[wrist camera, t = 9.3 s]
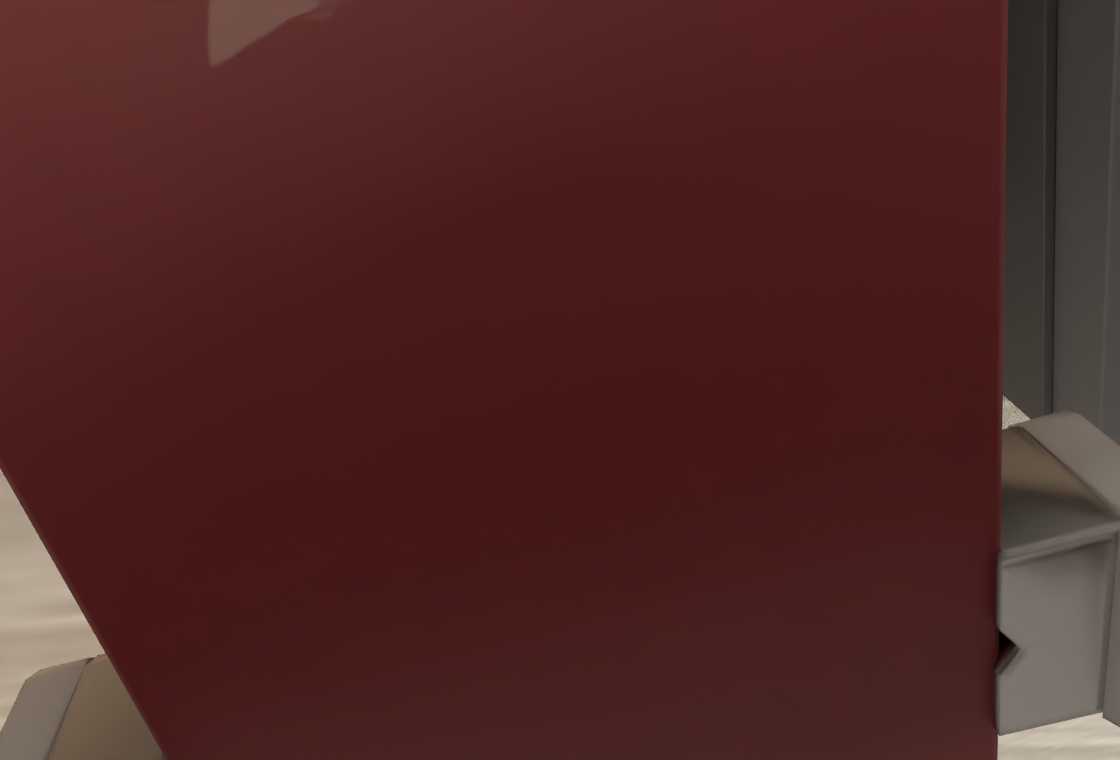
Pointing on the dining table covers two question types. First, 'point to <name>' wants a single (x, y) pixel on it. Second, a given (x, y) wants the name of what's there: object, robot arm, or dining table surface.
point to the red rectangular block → (515, 369)
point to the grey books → (1063, 210)
